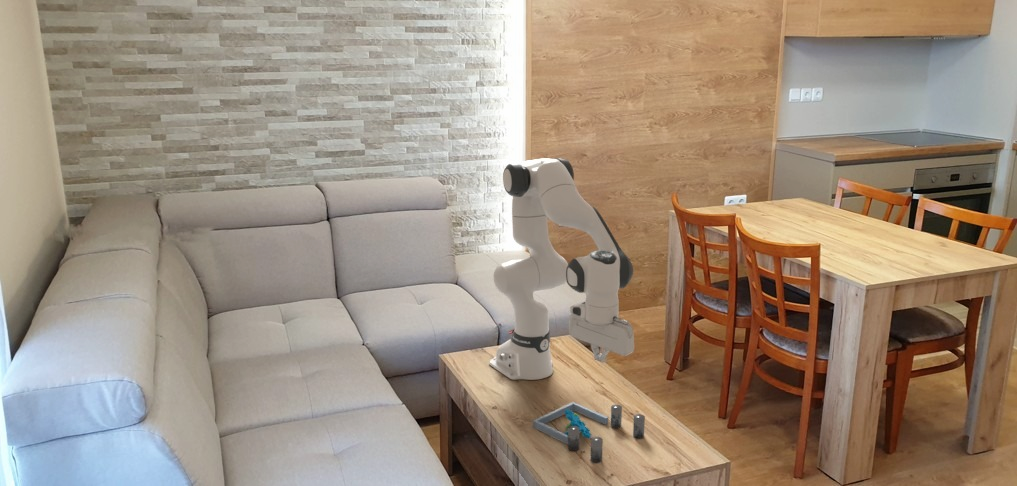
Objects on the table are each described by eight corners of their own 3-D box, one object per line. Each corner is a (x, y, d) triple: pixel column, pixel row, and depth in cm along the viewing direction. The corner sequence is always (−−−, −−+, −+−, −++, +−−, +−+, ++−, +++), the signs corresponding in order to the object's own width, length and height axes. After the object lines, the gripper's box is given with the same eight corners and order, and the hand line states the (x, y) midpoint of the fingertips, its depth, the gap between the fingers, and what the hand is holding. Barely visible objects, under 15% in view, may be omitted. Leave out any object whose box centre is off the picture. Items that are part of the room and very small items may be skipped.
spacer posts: (565, 448, 210) (565, 428, 208) (615, 422, 224) (615, 403, 222) (596, 464, 202) (597, 443, 201) (646, 436, 216) (647, 416, 215)
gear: (594, 440, 211) (568, 414, 210) (578, 455, 212) (552, 429, 211) (591, 425, 222) (567, 401, 221) (576, 439, 223) (552, 415, 222)
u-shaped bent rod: (532, 427, 221) (532, 420, 221) (572, 407, 233) (573, 401, 232) (567, 444, 212) (568, 437, 211) (608, 423, 223) (608, 417, 223)
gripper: (640, 319, 201) (638, 369, 204) (581, 300, 215) (579, 346, 219) (625, 325, 197) (623, 376, 200) (565, 305, 211) (564, 352, 215)
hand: (600, 360), depth 210 cm, fingers closed
